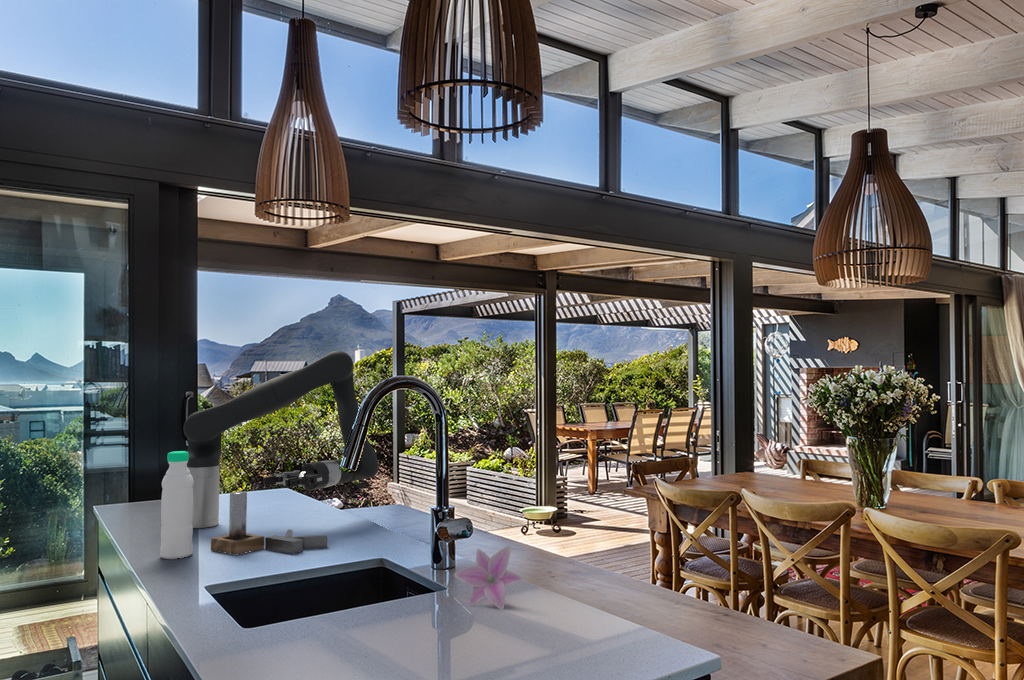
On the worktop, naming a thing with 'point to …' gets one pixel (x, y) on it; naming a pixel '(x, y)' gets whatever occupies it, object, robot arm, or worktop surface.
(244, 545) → the brown wooden open box
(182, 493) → the water bottle
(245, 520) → the gray rectangular bar
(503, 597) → the lily
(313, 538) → the v block
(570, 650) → the worktop surface
